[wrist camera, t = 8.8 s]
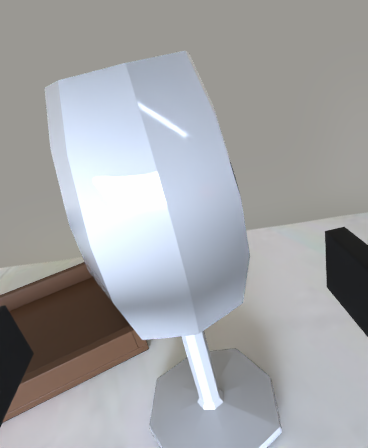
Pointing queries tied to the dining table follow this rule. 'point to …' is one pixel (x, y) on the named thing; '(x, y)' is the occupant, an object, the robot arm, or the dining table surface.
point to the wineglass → (164, 236)
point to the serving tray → (67, 334)
